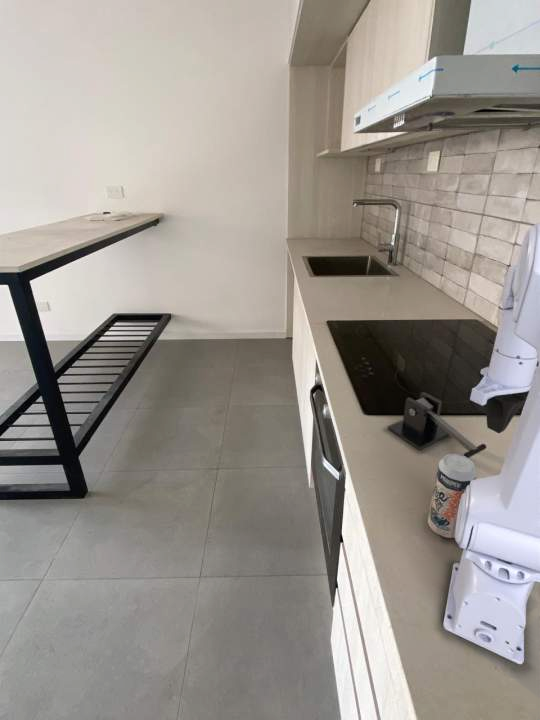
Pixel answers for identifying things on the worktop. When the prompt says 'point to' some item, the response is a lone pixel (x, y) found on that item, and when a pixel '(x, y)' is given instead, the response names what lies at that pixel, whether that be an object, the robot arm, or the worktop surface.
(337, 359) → the worktop surface
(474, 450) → the lever
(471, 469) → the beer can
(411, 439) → the bracket
